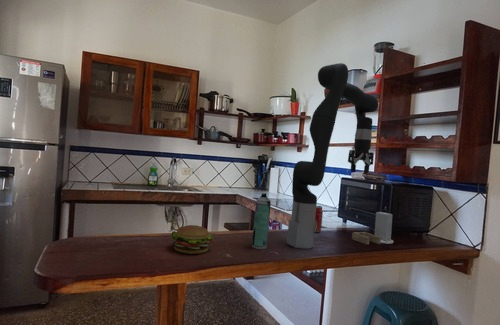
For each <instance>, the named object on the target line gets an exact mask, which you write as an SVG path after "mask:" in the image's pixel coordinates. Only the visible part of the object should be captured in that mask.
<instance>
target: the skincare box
mask: <svg viewBox="0 0 500 325" xmlns="http://www.w3.org/2000/svg"><path fill="white" fill-rule="evenodd" d="M374 222H375V224H374V235H376V236H379V237H381V240H384V241H390V240H392V228H393V227H392V226H393V214H392V213H388V212H384V211H383V212H382V211H377V212H375V221H374Z"/></svg>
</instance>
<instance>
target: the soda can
mask: <svg viewBox="0 0 500 325" xmlns="http://www.w3.org/2000/svg"><path fill="white" fill-rule="evenodd" d="M322 208H323V207H322V206H319V205H316V214H315V225H314V232H318V233H319V232H321V231H322V225H323V216H324V215H323V212H324V211H323V209H322Z"/></svg>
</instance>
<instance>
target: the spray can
mask: <svg viewBox="0 0 500 325" xmlns="http://www.w3.org/2000/svg"><path fill="white" fill-rule="evenodd" d="M271 204H272V200H270V199H269V198H268V196H267V193H266V192H265V193H264V192H263V193H262V192H261V195H260V196H259V198H256V201H255V209H254V210H255V211H254V221H253V229H252V230H253V231H252V233H253V234H252V243H251V247H252V248H254V249H256V250H265V249H267V248H268V236H269V224H270V214H271Z"/></svg>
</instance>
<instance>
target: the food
mask: <svg viewBox="0 0 500 325" xmlns="http://www.w3.org/2000/svg"><path fill="white" fill-rule="evenodd" d="M170 236H171V238H172V239H173V240H172V246H173V249H174V250H175V251H176V252H179V253H183V254H189V255H195V254H196V255H198V254H204V253H206V252H208V251H209V249H210V248H209V246H210V244H212V243H213V242H214V234H213V233H209V231H208V229H206V228H205V227H204V226H201V225H194V224H193V225H191V224H190V225H188V224H187V225H183V226H181V227H179V228H178V229H177V230H173V231H172V232H171V235H170Z"/></svg>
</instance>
